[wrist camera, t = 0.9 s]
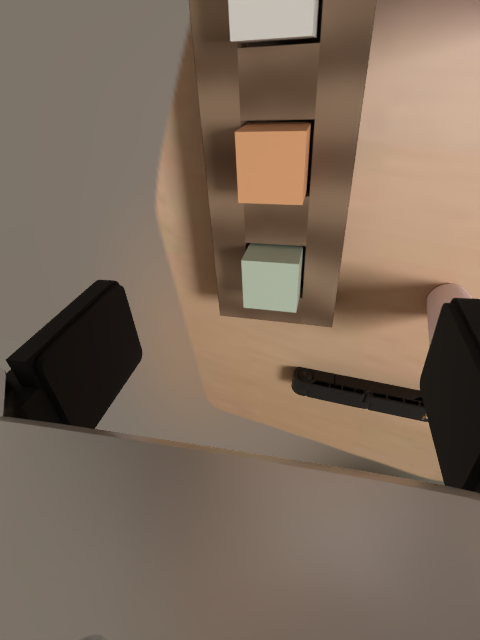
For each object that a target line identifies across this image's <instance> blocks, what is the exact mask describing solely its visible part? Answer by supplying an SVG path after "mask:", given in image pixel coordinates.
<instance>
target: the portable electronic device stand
mask: <svg viewBox="0 0 480 640" xmlns="http://www.w3.org/2000/svg"><path fill="white" fill-rule="evenodd" d="M291 386H292V389H293V391H294V392H295V393H297V394H299V395H302V396H307V397H311V398H316V399H320V400H325V401H330V402H334V403H339V404H344V405H348V406H353V407H357V408H363V409H367V408H368V410H372V411H377V412H382V413H386V414H391V415H396V416H401V417H405V418H410V419H415V420H420V421H425V422H428V418H427V414H426V410H425V407H424V403H423V399H422V395H421V391H419V390H414V389H409V388H404V387H399V386H394V385H389V384H384V383H379V382H374V381H369V380H364V379H359V378H353V377H348V376H342V375H337V374H335V375H334V374H333V373H328V372H323V371H318V370H313V369H307V368H303V367H298V368H296V369H295V371H294V375H293V380H292V385H291Z"/></svg>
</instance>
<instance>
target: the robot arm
mask: <svg viewBox="0 0 480 640" xmlns="http://www.w3.org/2000/svg"><path fill="white" fill-rule="evenodd" d="M141 358H142V348H141V346H140V342H139V338H138V335H137V331H136V328H135V325H134V321H133V317H132V314H131V311H130V307H129V304H128V300H127V297H126V293H125V290H124V288H123V287H122V286H120V285H119V283H118V282H117V281H111V280H97V281H96V282H94V283H93V284H92V285H91V286H90V287H89V288H88V289H86V290H85V291H84V292H83V293H82V294H81V295H79V296H78V297H77V298H76V299H75V300H74V301H73V302H71V303H70V304H69V305H68V306H67V307H66V308H65V309H64V310H62V311H61V312H60V313H59V314H58V315H57V316H55V317H54V318H53V319H52V320H51V321H50V322H49V323H47V324H46V325H45V326H44V327H43V328H42V329H41V330H39V331H38V332H37V333H36V334H35V335H34V336H33V337H31V338H30V339H29V340H28V341H27V342H26V343H25V344H23V345H22V346H21V347H20V348H19V349H18V350H16V352H14V353H13V354H12V355H11V356H10V357H9V358H7V359H6V361H7V363H8V364H9V366H10V367H11V370H10V371H9V372H8V373H6V372H5V371H4V370H3V369H2V368H0V640H480V299H470V298H453V299H452V300H451V302H450V303H444V304H443V305H442V308H441V311H440V314H439V318H438V321H437V324H436V328H435V331H434V334H433V338H432V341H431V344H430V348H429V351H428V354H427V358H426V361H425V364H424V368H423V371H422V374H421V378H420V391H421V395H422V399H423V403H424V407H425V410H426V414H427V418H428V422H429V426H430V430H431V434H432V438H433V441H434V445H435V449H436V453H437V457H438V461H439V465H440V469H441V473H442V476H443V480H444V484H445V486H444V485H439V484H433V483H428V482H422V481H416V480H411V479H405V478H399V477H394V476H388V475H382V474H376V473H371V472H365V471H359V470H353V469H347V468H341V467H334V466H328V465H321V464H315V463H309V462H303V461H297V460H290V459H284V458H278V457H272V456H266V455H259V454H253V453H247V452H241V451H234V450H227V449H222V448H215V447H209V446H202V445H196V444H190V443H183V442H176V441H170V440H163V439H157V438H151V437H144V436H137V435H131V434H124V433H118V432H111V431H104V430H98V429H95V427H96V426H97V424H98V423H99V421H100V420H101V418H102V417H103V415H104V414H105V413H106V411H107V409H108V408H109V407H110V405H111V404H112V402H113V401H114V399H115V398H116V396H117V395H118V393H119V392H120V390H121V389H122V387H123V386H124V384H125V383H126V382H127V380H128V379H129V377H130V376H131V374H132V373H133V371H134V370H135V368H136V367H137V365H138V364H139V362H140V361H141Z"/></svg>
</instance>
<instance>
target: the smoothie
mask: <svg viewBox="0 0 480 640" xmlns="http://www.w3.org/2000/svg"><path fill="white" fill-rule="evenodd" d="M453 298H470V299H473V298H472V297H471V296H470V295H469V293H468V292H467V291H466V290H465V289H464V288H463V287H462V286H460V285H457V284H444V285H440V286H438V287H436V288H435V289H433V290H432V291H431V292H430V293H429V295H428V297H427V301H426V302H427V316H428V330H429V346H430V344H431V341H432V338H433V334H434V331H435V328H436V324H437V321H438V318H439V314H440V311H441V308H442V305H443V304H444V303H450V302H451V300H452V299H453Z"/></svg>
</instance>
